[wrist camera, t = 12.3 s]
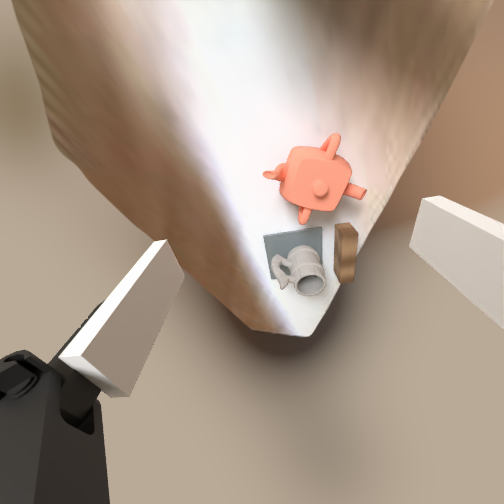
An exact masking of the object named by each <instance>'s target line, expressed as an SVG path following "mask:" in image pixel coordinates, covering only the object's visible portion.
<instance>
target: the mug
mask: <svg viewBox="0 0 504 504" xmlns="http://www.w3.org/2000/svg"><path fill="white" fill-rule="evenodd" d="M271 263H272V264H271V269H272V270H273V273H274V275H275V277H276V278H277V280H278V282H279V284H280V289H281V290H283V289H284V288H285V287H286V286H287V284H288V282H290V283H294V287H295V289H296V291H297V292H298V293H299V294H301V295H304V296H313V295H317V294H319V293H320V292H321V291H323V288H324V287H325V286H326V279H325V276H324V270H323V267H322V265H321V264H320V257H319V254H318V252H317V251H316V250H314V248H312V247H311V246H307V245H301V246H297V247H295V248H293V249H292V250H291V251H290V252H289V254H288V257H287V259H285V258H283V257H281V256H280V255H278V254H276V255H275V256H274V257H273V258H272V261H271ZM281 264H282V265H284V266H287V267H288V268H289V270H290V272H291V274H290V276H288V275H286V274H285V273H284V272H283V271H282V270H281V269H280V267H279V266H280V265H281Z"/></svg>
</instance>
